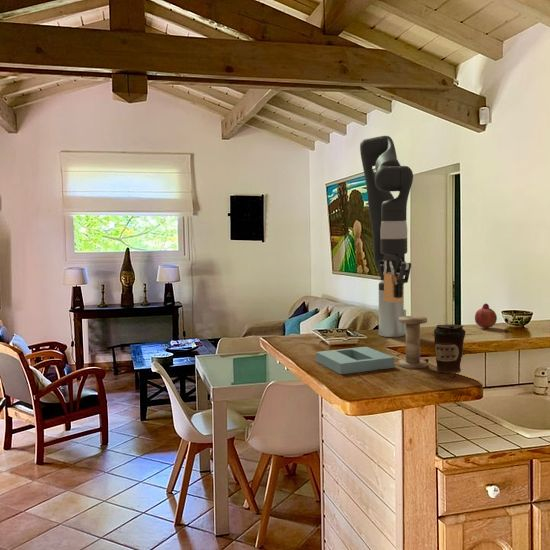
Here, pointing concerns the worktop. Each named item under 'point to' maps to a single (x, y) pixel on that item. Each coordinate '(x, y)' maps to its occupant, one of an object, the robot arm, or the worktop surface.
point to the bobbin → (413, 342)
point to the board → (354, 360)
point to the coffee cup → (449, 347)
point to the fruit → (485, 317)
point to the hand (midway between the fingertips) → (393, 296)
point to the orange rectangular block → (391, 288)
